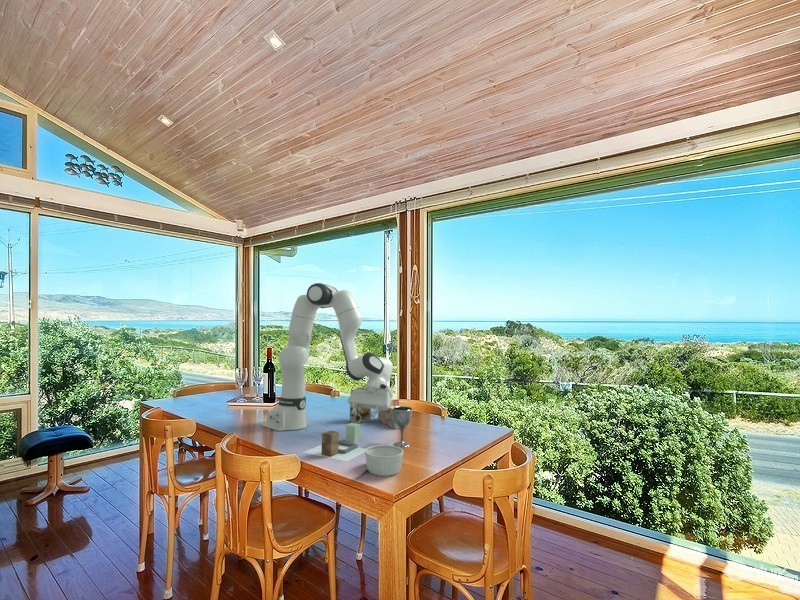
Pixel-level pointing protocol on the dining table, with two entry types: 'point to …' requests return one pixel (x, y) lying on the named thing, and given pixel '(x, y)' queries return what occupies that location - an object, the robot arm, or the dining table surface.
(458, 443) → the dining table surface
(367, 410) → the coffee box
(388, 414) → the colourful cardboard box
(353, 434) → the sage block
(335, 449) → the walnut block
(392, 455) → the ramekin
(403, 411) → the wine glass
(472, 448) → the dining table surface
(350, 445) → the board
